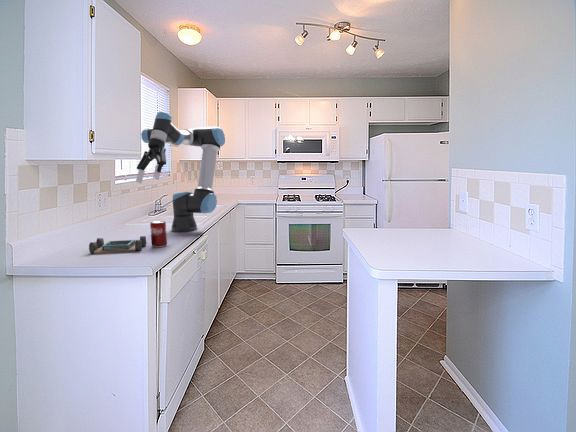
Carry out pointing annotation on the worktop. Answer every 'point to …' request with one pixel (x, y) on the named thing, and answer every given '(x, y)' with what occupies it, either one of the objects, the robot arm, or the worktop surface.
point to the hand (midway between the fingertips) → (147, 180)
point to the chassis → (117, 246)
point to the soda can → (158, 233)
